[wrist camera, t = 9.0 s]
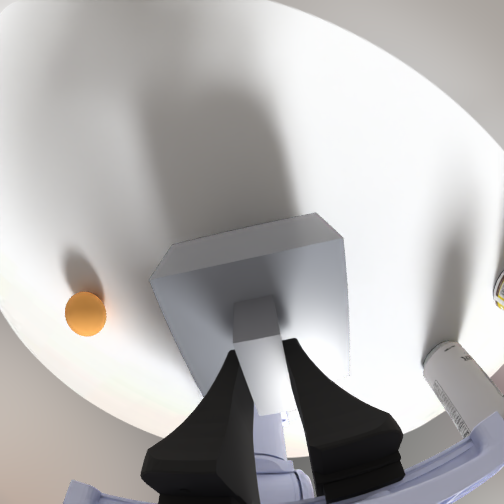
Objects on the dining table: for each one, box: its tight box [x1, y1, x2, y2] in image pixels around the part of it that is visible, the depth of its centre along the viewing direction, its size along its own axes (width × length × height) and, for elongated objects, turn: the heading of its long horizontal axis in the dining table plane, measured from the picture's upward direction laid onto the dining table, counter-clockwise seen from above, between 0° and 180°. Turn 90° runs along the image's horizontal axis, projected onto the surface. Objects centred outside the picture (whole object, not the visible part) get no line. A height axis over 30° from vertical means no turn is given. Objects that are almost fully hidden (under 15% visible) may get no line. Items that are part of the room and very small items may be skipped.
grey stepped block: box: [149, 213, 350, 416], centre depth 15 cm, size 9×9×8 cm
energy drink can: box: [423, 341, 504, 439], centre depth 20 cm, size 6×6×15 cm
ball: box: [65, 292, 106, 336], centre depth 21 cm, size 4×4×4 cm
